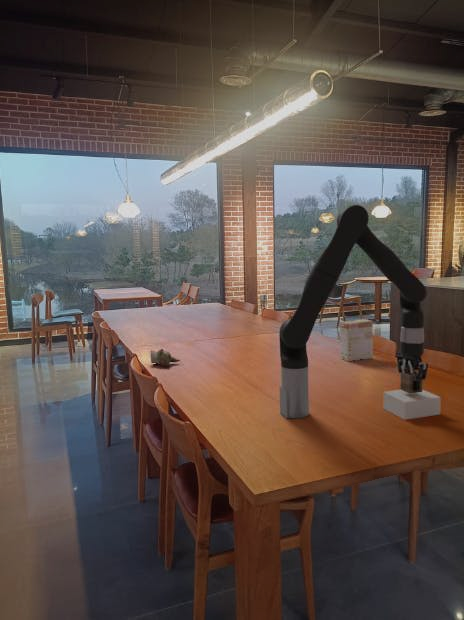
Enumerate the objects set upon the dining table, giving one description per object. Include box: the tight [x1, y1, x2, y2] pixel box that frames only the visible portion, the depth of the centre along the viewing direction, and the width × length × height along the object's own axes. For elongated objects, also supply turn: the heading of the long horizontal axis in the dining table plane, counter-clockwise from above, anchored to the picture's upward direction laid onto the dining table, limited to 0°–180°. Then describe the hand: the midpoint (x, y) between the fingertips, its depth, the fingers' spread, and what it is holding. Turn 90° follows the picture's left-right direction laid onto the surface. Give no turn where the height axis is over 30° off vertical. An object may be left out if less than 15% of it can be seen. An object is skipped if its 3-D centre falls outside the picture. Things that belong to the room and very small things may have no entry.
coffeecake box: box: [339, 318, 374, 362], centre depth 237 cm, size 15×7×20 cm, turn 108°
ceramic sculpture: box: [150, 349, 181, 367], centre depth 238 cm, size 11×9×15 cm
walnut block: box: [400, 371, 424, 394], centre depth 160 cm, size 5×5×6 cm
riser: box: [382, 389, 442, 421], centre depth 161 cm, size 14×12×6 cm
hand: (411, 388), depth 160 cm, fingers closed on walnut block, 5 cm apart
